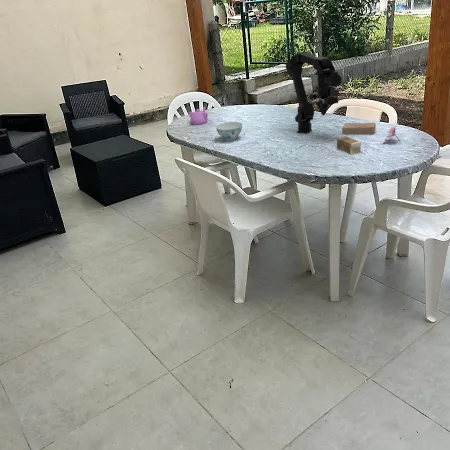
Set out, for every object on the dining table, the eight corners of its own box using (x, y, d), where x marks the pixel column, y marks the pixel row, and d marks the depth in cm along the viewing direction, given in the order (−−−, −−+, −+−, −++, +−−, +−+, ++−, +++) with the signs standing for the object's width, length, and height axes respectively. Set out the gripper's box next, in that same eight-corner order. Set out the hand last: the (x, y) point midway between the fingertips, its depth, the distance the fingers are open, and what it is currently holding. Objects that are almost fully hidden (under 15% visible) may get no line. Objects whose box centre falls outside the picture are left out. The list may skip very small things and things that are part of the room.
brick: (341, 135, 239) (341, 126, 237) (344, 130, 246) (344, 122, 243) (374, 135, 233) (374, 126, 231) (375, 130, 239) (376, 122, 237)
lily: (392, 138, 227) (384, 123, 224) (413, 133, 217) (404, 116, 214) (381, 152, 222) (372, 136, 219) (402, 147, 212) (392, 130, 209)
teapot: (207, 119, 301) (205, 106, 297) (209, 124, 289) (207, 110, 285) (189, 121, 300) (187, 108, 296) (191, 126, 288) (189, 113, 284)
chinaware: (230, 133, 263) (229, 120, 260) (249, 137, 253) (247, 123, 250) (212, 140, 254) (210, 127, 251) (230, 144, 244) (229, 130, 241)
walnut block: (336, 138, 218) (351, 144, 208) (345, 136, 219) (360, 141, 209) (336, 148, 220) (351, 154, 210) (345, 146, 221) (360, 152, 211)
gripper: (347, 83, 219) (347, 115, 226) (326, 79, 235) (326, 109, 242) (328, 87, 216) (328, 119, 223) (308, 83, 231) (308, 113, 239)
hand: (323, 115), depth 231 cm, fingers closed
